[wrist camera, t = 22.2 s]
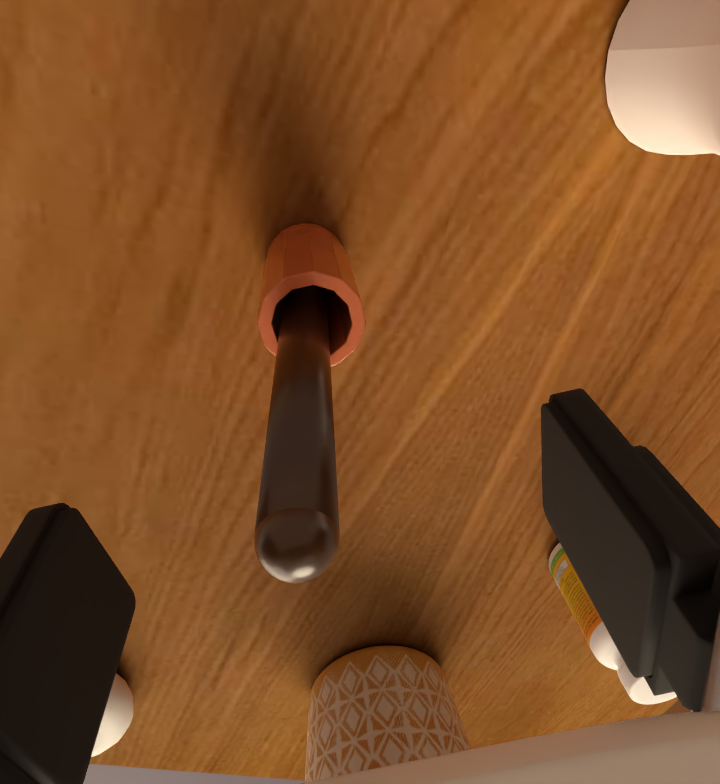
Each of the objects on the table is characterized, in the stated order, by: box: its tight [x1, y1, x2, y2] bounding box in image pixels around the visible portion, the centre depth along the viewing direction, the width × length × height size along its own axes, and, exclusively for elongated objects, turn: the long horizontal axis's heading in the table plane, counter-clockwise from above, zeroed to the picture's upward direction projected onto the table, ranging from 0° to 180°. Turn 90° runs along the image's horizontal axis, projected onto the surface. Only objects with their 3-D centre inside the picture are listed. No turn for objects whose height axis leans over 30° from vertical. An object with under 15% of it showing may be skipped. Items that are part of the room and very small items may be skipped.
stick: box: [254, 285, 340, 583], centre depth 18 cm, size 2×2×17 cm
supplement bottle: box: [549, 542, 677, 704], centre depth 34 cm, size 5×5×10 cm
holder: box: [257, 223, 366, 366], centre depth 22 cm, size 4×4×7 cm
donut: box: [91, 673, 134, 757], centre depth 38 cm, size 10×4×10 cm
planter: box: [305, 645, 471, 783], centre depth 39 cm, size 13×13×10 cm
